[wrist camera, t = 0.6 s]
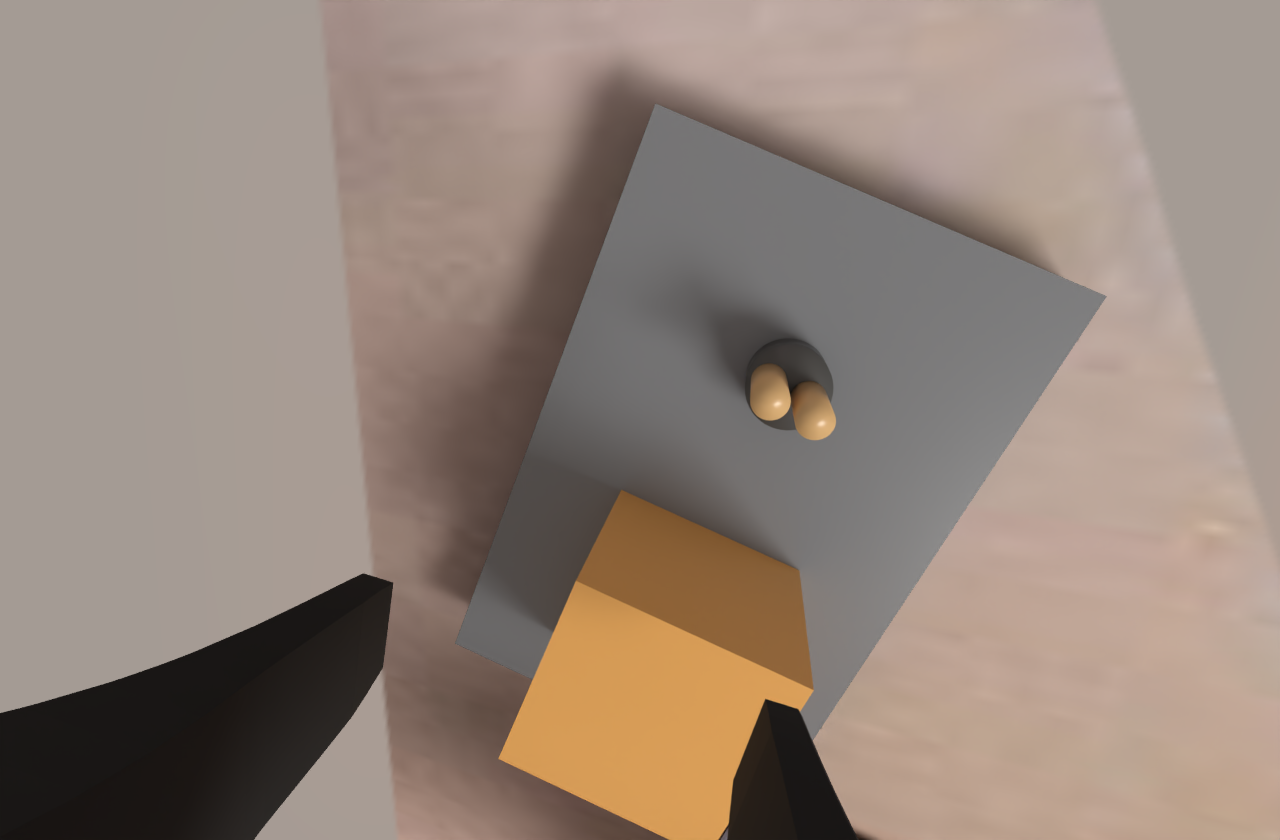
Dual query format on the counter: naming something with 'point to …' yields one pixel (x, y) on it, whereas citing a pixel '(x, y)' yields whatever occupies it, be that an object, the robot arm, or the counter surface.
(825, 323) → the flat grey tile
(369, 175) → the counter surface
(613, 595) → the amber cube
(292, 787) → the robot arm
